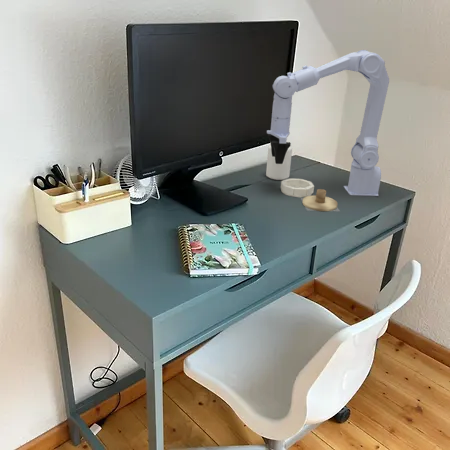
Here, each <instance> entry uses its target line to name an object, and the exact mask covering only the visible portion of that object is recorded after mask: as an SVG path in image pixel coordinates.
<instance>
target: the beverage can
mask: <svg viewBox="0 0 450 450" xmlns="http://www.w3.org/2000/svg"><path fill="white" fill-rule="evenodd" d="M292 154H293V147H292V144H291V145H290V147H289V148H288V150H287V152H286V155H285V158H284V161H283V163H282V164H276V163H275V157H272V152H271V143H269V145H268V147H267V160H266V173H265V175H266V177H267V178H269V179H271V180H275V181H283V180H286V179H289V178H290V172H291V163H292Z"/></svg>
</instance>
